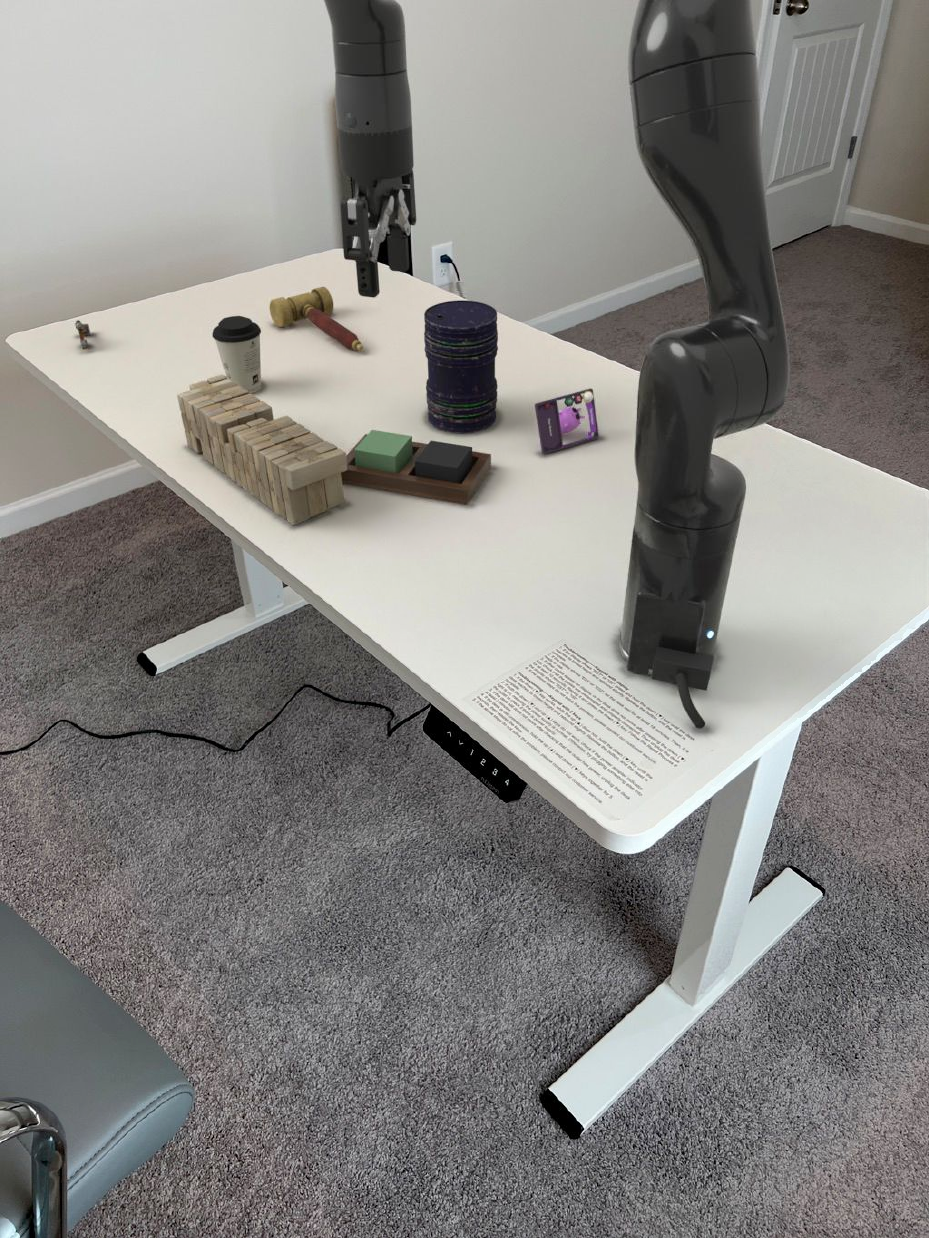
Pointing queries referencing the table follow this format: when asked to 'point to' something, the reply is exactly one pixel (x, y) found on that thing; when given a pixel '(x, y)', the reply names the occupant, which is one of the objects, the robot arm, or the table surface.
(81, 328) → the wooden post with brackets
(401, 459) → the sage pad
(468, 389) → the navy oil drum
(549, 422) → the game card
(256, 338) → the coffee cup
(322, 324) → the gavel
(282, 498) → the block tower
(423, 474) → the charcoal pad
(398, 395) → the table surface
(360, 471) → the divided wooden tray
